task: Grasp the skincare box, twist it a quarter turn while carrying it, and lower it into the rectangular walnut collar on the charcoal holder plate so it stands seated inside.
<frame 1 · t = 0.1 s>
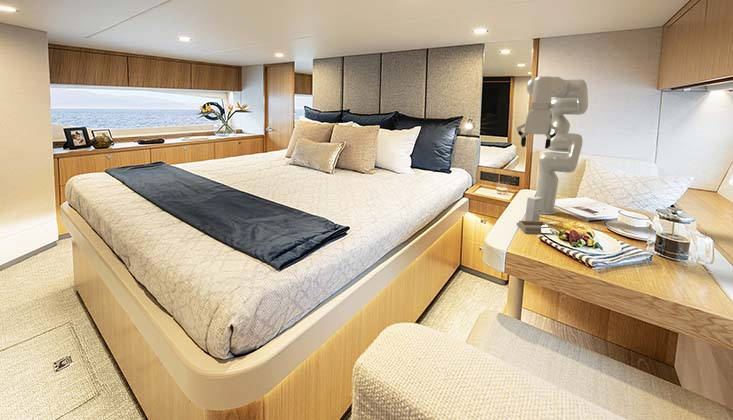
hand: (534, 147, 160), 37 cm above the table, tool pointing down, fingers open, 9 cm apart
skincare box: (531, 221, 179), on the table
holder: (533, 229, 167), on the table
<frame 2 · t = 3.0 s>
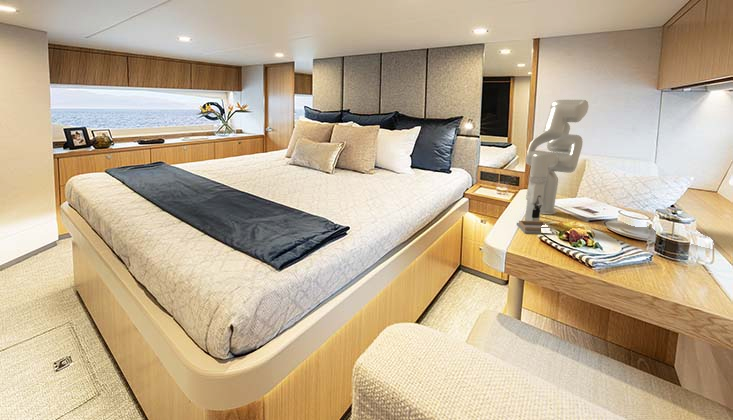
hand: (532, 215, 178), 3 cm above the table, tool pointing down, fingers closed on skincare box, 6 cm apart
skincare box: (531, 221, 179), on the table, touching gripper
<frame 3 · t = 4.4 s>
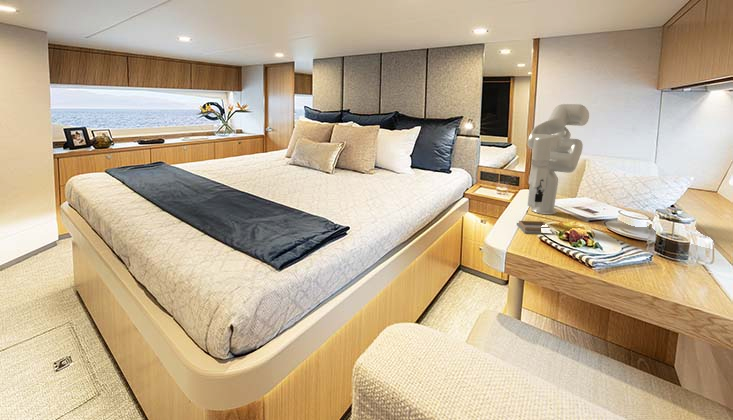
hand: (535, 199, 176), 11 cm above the table, tool pointing down, fingers closed on skincare box, 6 cm apart
skincare box: (534, 206, 177), point 7 cm above the table, touching gripper
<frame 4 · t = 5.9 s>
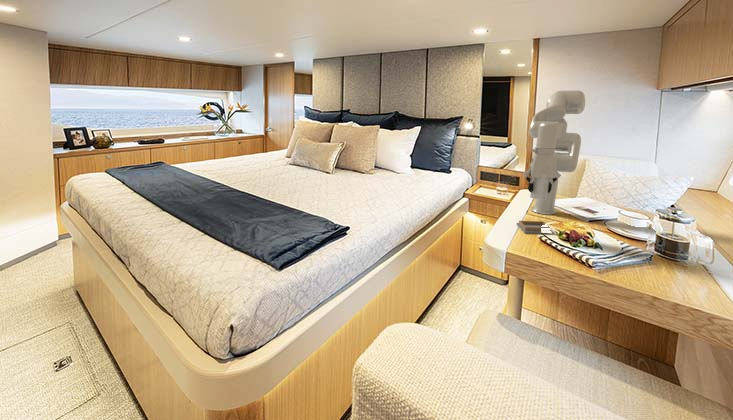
hand: (539, 191, 163), 18 cm above the table, tool pointing down, fingers closed on skincare box, 6 cm apart
skincare box: (537, 199, 164), point 14 cm above the table, touching gripper
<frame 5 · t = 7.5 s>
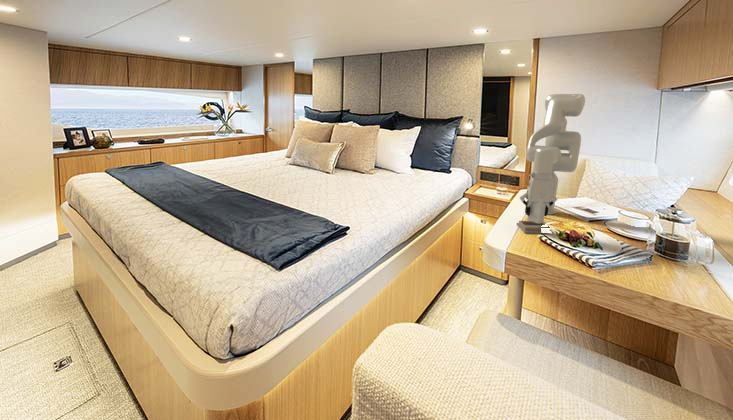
hand: (535, 214, 165), 7 cm above the table, tool pointing down, fingers closed on skincare box, 6 cm apart
skincare box: (534, 221, 166), point 4 cm above the table, touching gripper
when the fingers open (5 cm above the table, at t = 8.7 s): skincare box drops 1 cm, resting on holder.
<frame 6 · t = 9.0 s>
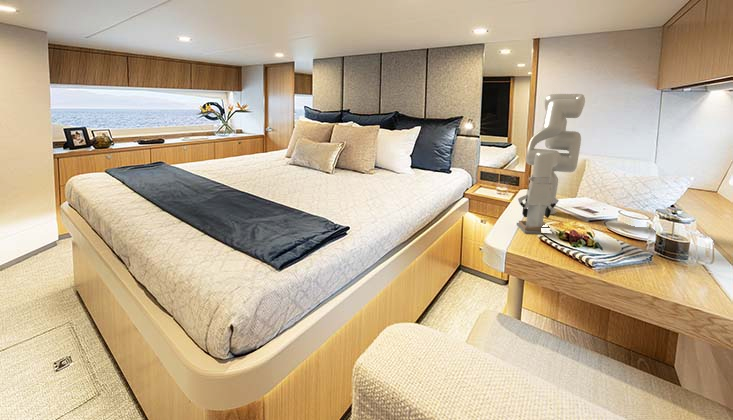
hand: (535, 216, 166), 6 cm above the table, tool pointing down, fingers open, 9 cm apart
skincare box: (533, 227, 167), point 1 cm above the table, touching holder
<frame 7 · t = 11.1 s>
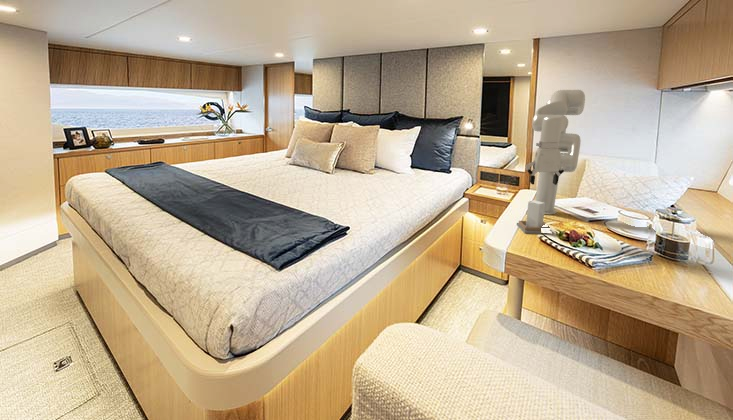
hand: (543, 183, 163), 21 cm above the table, tool pointing down, fingers open, 9 cm apart
nothing on the table moved.
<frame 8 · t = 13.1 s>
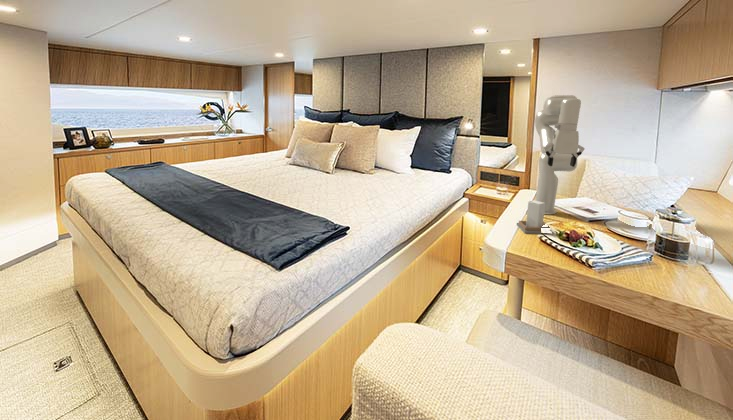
hand: (561, 166, 166), 28 cm above the table, tool pointing down, fingers open, 9 cm apart
nothing on the table moved.
at the end: skincare box 0.3 cm off-centre on the holder, point 0.8 cm above the holder's base; skincare box tilted 0°; the gripper is holding nothing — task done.
